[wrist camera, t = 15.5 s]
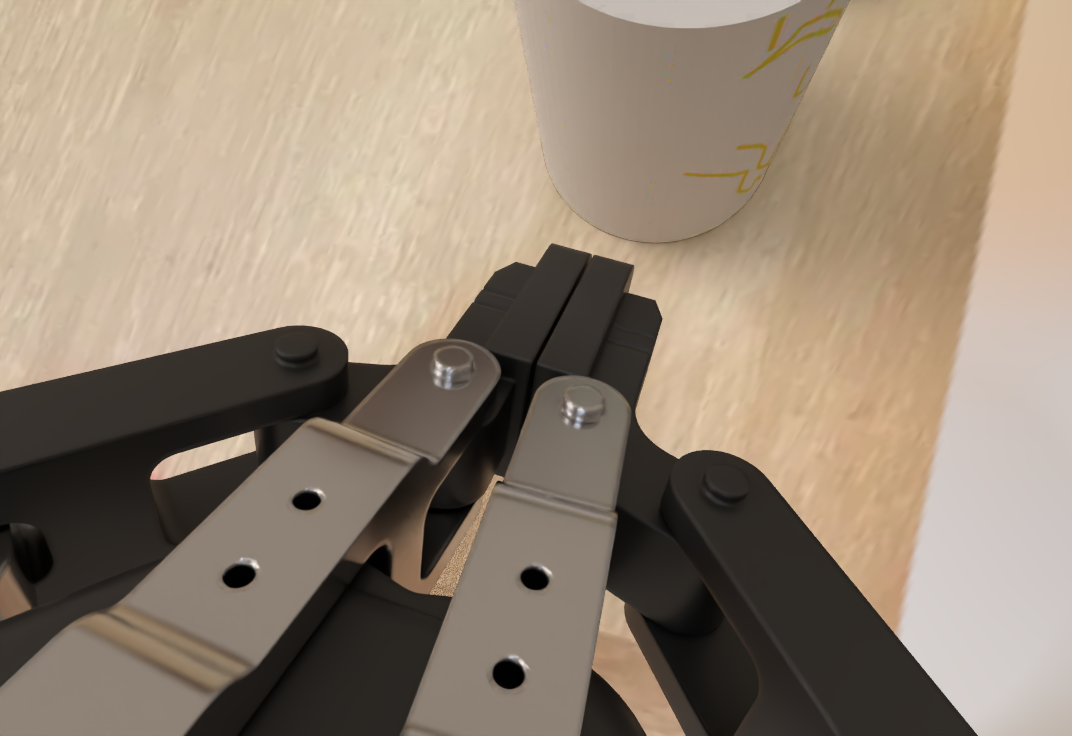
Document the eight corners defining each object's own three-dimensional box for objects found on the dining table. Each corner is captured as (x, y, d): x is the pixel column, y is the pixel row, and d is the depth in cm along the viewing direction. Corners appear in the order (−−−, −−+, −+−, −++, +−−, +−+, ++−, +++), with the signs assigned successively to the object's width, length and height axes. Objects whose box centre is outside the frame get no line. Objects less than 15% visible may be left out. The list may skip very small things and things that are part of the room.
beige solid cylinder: (733, 271, 25) (843, 75, 13) (510, 204, 26) (432, -30, 15) (802, 61, 26) (959, -292, 14) (584, 5, 27) (567, -362, 16)
